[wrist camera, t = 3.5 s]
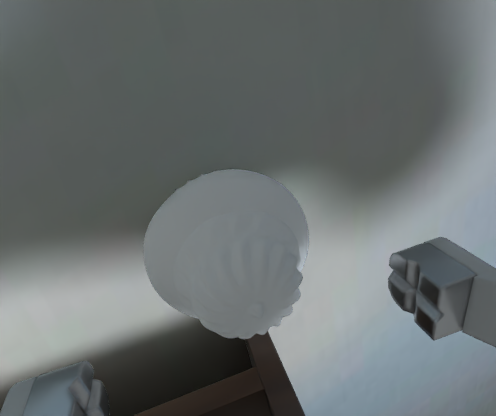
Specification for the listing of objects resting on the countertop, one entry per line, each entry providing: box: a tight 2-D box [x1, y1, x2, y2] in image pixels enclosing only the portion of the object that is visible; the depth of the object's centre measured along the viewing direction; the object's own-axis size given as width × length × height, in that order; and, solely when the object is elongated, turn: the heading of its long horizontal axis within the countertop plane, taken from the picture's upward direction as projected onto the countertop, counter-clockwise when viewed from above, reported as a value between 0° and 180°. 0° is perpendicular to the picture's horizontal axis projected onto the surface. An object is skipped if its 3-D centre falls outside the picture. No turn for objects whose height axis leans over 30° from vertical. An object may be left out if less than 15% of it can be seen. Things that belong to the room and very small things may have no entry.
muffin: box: [143, 169, 309, 339], centre depth 12 cm, size 6×6×7 cm
